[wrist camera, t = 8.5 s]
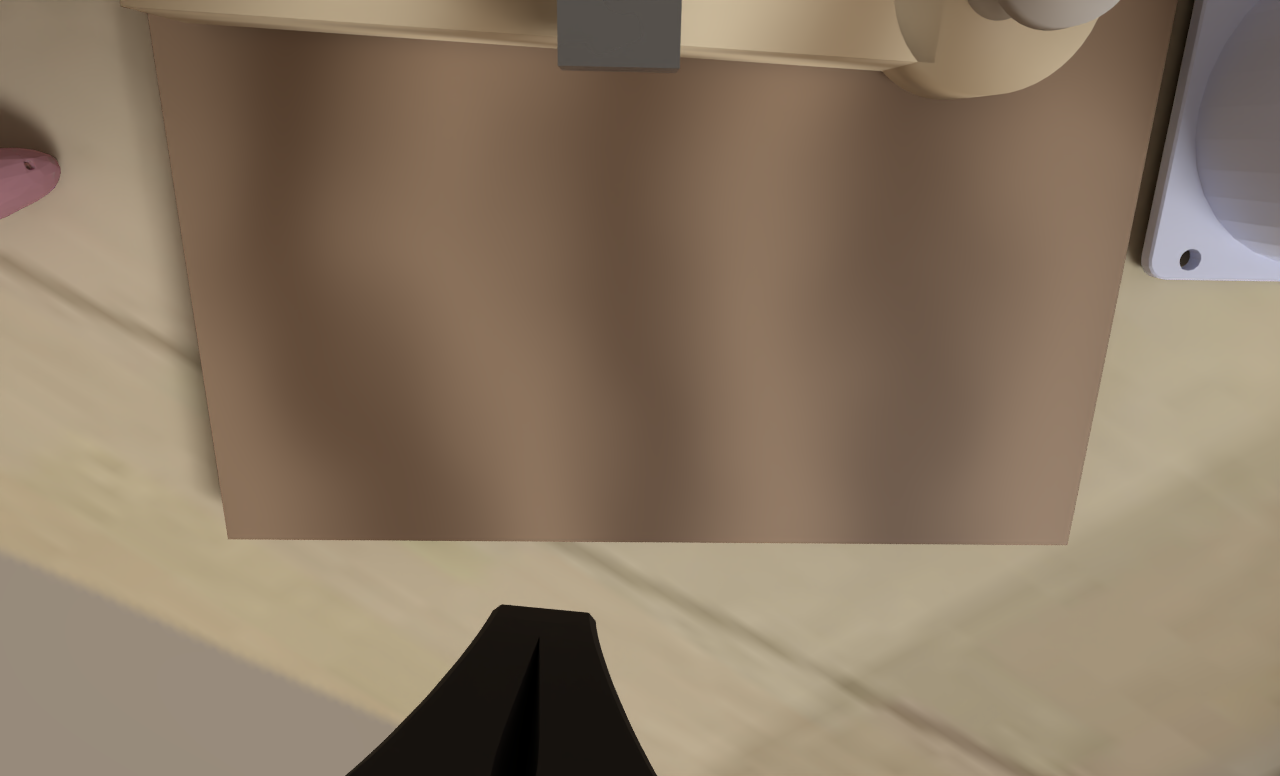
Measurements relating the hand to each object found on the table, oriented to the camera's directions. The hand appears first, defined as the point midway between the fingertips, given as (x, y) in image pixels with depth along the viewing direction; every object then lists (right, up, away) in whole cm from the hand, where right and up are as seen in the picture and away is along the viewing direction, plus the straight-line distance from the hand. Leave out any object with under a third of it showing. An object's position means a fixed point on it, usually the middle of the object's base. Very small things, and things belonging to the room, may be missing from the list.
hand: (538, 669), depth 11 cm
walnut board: (+2, +11, +7) cm, 14 cm away
